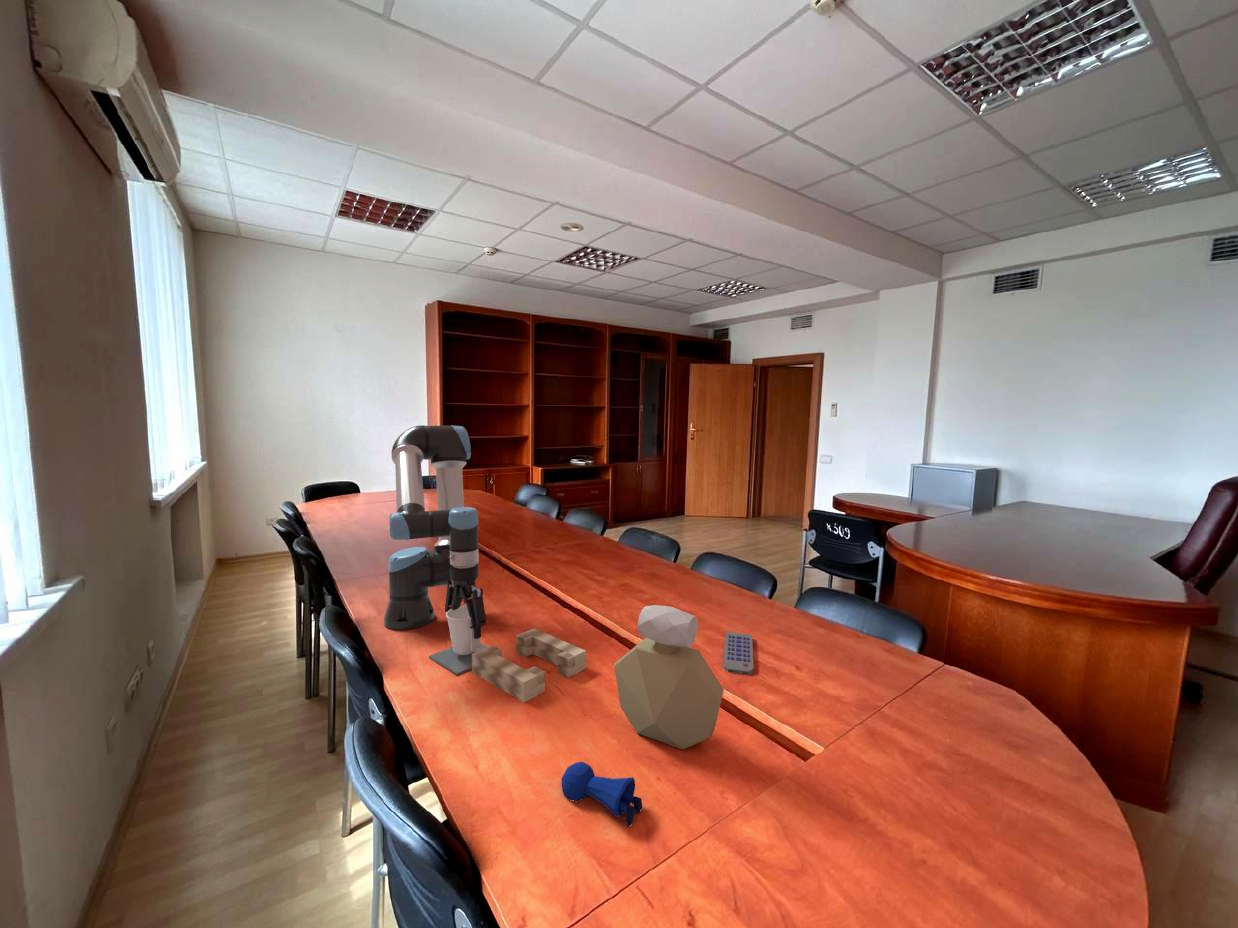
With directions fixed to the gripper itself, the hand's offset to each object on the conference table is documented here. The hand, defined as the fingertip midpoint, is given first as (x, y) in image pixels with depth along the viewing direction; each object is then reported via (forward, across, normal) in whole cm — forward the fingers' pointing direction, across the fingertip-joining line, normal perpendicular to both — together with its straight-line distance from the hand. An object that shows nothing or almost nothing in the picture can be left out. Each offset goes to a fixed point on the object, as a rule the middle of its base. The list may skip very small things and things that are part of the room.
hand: (465, 643), depth 136 cm
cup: (+2, 0, 0) cm, 2 cm away
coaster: (+4, 0, 0) cm, 4 cm away
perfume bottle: (+4, +61, +9) cm, 62 cm away
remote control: (+4, +56, +53) cm, 77 cm away
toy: (+4, +62, -14) cm, 64 cm away
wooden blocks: (+4, +19, +7) cm, 21 cm away
